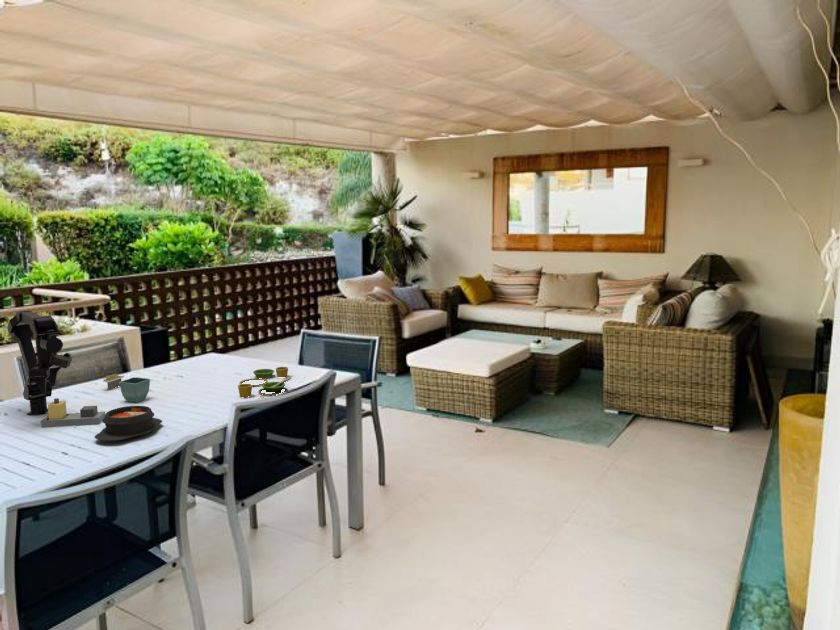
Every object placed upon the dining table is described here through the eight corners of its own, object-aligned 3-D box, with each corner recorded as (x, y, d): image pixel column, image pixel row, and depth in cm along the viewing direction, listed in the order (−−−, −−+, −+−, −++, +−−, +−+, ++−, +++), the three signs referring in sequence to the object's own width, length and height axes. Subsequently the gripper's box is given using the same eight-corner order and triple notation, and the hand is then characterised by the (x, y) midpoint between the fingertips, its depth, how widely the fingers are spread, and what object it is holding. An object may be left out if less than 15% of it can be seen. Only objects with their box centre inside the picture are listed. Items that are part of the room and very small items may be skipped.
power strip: (49, 420, 238) (48, 406, 237) (105, 417, 242) (104, 404, 241) (41, 427, 230) (39, 413, 229) (99, 424, 234) (98, 410, 233)
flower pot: (152, 398, 267) (150, 378, 266) (137, 404, 259) (136, 383, 257) (134, 397, 269) (133, 376, 268) (120, 402, 261) (118, 382, 260)
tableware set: (278, 401, 265) (278, 387, 264) (217, 398, 269) (216, 384, 268) (309, 377, 306) (308, 364, 305) (255, 374, 310) (255, 362, 309)
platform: (87, 393, 277) (86, 378, 276) (117, 382, 294) (116, 369, 293) (108, 395, 273) (107, 381, 272) (138, 385, 290) (137, 371, 289)
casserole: (134, 420, 239) (133, 399, 237) (174, 425, 233) (173, 404, 232) (81, 442, 215) (79, 419, 214) (124, 448, 209) (122, 425, 208)
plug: (54, 421, 237) (52, 397, 235) (67, 421, 238) (65, 396, 236) (49, 425, 232) (47, 400, 231) (62, 425, 233) (60, 400, 232)
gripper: (59, 353, 228) (62, 394, 230) (76, 343, 246) (79, 381, 248) (25, 354, 226) (29, 396, 228) (45, 344, 244) (49, 383, 246)
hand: (48, 388), depth 238 cm, fingers open, 9 cm apart
